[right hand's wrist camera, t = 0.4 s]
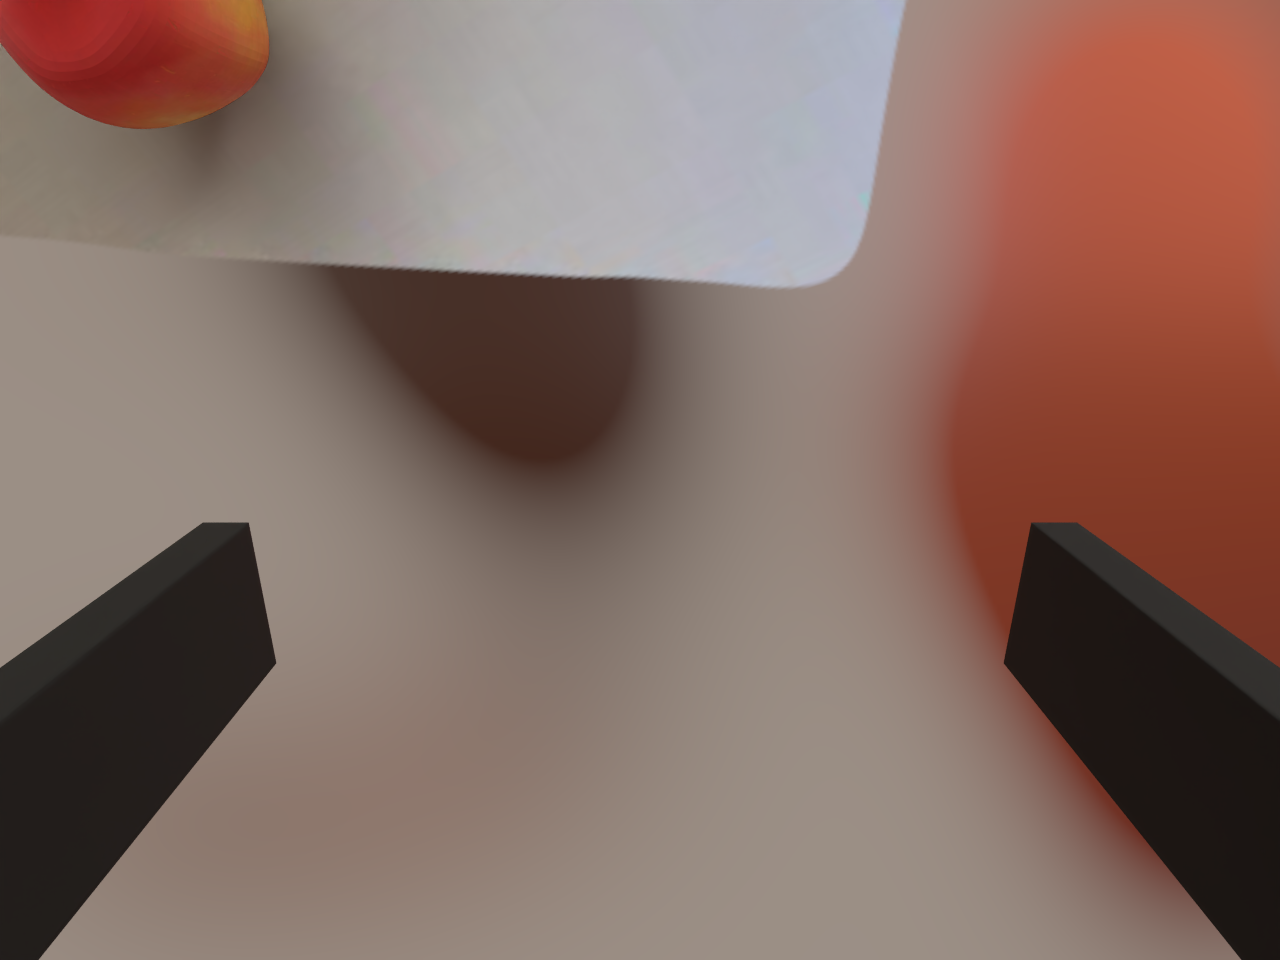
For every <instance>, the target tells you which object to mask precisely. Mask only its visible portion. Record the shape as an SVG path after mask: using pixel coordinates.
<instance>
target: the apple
mask: <svg viewBox="0 0 1280 960" xmlns="http://www.w3.org/2000/svg"><path fill="white" fill-rule="evenodd" d="M0 43H1V44H2V45H3V47H4V48H5V49H6V51H7V52H8V53H9V54H10V56H11V57H12V58H13V59H14V60H15V62H16V63H17V64H18V65H19V66H20V67H21V69H22V70H23V71H24V72H25V73H26V74H27V75H28V76H29V77H30V78H31V79H32V80H33V81H34V82H35V83H36V84H37V85H38V86H40V87H41V88H42V89H43V90H44V91H45V92H47V93H48V94H49V95H51V96H52V97H53V98H55V99H56V100H57V101H59V102H60V103H62V104H64V105H65V106H67V107H69V108H70V109H72V110H74V111H76V112H78V113H80V114H82V115H84V116H86V117H88V118H91V119H94V120H97V121H100V122H103V123H106V124H109V125H113V126H119V127H125V128H134V129H151V128H163V127H169V126H175V125H178V124H182V123H186V122H189V121H193V120H196V119H199V118H201V117H204V116H206V115H209V114H211V113H213V112H215V111H217V110H219V109H221V108H223V107H224V106H226V105H228V104H230V103H231V102H233V101H234V100H236V99H238V98H239V97H241V96H242V95H243V94H245V93H246V92H247V91H248V90H250V89H251V88H252V87H253V86H254V84H255V83H256V82H257V81H258V79H259V78H260V76H261V75H262V73H263V72H264V70H265V68H266V65H267V62H268V58H269V36H268V27H267V21H266V16H265V11H264V7H263V4H262V1H261V0H0Z"/></svg>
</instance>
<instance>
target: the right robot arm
mask: <svg viewBox="0 0 1280 960" xmlns="http://www.w3.org/2000/svg"><path fill="white" fill-rule="evenodd" d="M275 664H276V659H275V654H274V649H273V644H272V639H271V634H270V629H269V624H268V619H267V613H266V609H265V603H264V598H263V593H262V588H261V583H260V578H259V573H258V568H257V563H256V558H255V552H254V547H253V542H252V537H251V532H250V527H249V523H202V524H200V525H199V526H198V527H196V528H195V529H193V530H192V531H191V532H189V533H188V534H186V535H185V536H184V537H182V538H181V539H179V540H178V541H177V542H175V543H174V544H172V545H171V546H170V547H168V548H167V549H165V550H164V551H163V552H161V553H160V554H158V555H157V556H156V557H154V558H153V559H152V560H150V561H149V562H147V563H146V564H145V565H143V566H142V567H140V568H139V569H138V570H136V571H135V572H133V573H132V574H131V575H129V576H128V577H126V578H125V579H124V580H122V581H121V582H119V583H118V584H117V585H115V586H114V587H112V588H111V589H110V590H108V591H107V592H105V593H104V594H103V595H101V596H100V597H99V598H97V599H96V600H94V601H93V602H91V603H90V604H89V605H87V606H86V607H85V608H83V609H82V610H80V611H79V612H78V613H76V614H75V615H73V616H72V617H71V618H69V619H68V620H66V621H65V622H64V623H62V624H61V625H59V626H58V627H57V628H55V629H54V630H52V631H51V632H50V633H48V634H47V635H45V636H44V637H43V638H41V639H40V640H38V641H37V642H36V643H34V644H33V645H31V646H30V647H29V648H27V649H26V650H24V651H23V652H22V653H20V654H19V655H18V656H16V657H15V658H13V659H12V660H11V661H9V662H8V663H6V664H5V665H4V666H2V667H1V668H0V960H39V958H40V957H41V956H42V955H43V953H44V952H45V951H46V950H47V948H48V947H49V946H50V945H51V943H52V942H53V941H54V940H55V939H56V937H57V936H58V935H59V934H60V932H61V931H62V930H63V929H64V927H65V926H66V925H67V924H68V922H69V921H70V920H71V919H72V917H73V916H74V915H75V914H76V912H77V911H78V910H79V909H80V907H81V906H82V905H83V904H84V902H85V901H86V900H87V899H88V897H89V896H90V895H91V894H92V892H93V891H94V890H95V889H96V887H97V886H98V885H99V884H100V882H101V881H102V880H103V879H104V877H105V876H106V875H107V874H108V872H109V871H110V870H111V869H112V867H113V866H114V865H115V864H116V862H117V861H118V860H119V859H120V857H121V856H122V855H123V854H124V852H125V851H126V850H127V849H128V847H129V846H130V845H131V844H132V843H133V841H134V840H135V839H136V838H137V836H138V835H139V834H140V833H141V831H142V830H143V829H144V828H145V826H146V825H147V824H148V823H149V821H150V820H151V819H152V818H153V816H154V815H155V814H156V813H157V811H158V810H159V809H160V808H161V806H162V805H163V804H164V803H165V801H166V800H167V799H168V798H169V796H170V795H171V794H172V793H173V791H174V790H175V789H176V788H177V786H178V785H179V784H180V783H181V781H182V780H183V779H184V778H185V776H186V775H187V774H188V773H189V771H190V770H191V769H192V768H193V766H194V765H195V764H196V763H197V761H198V760H199V759H200V758H201V756H202V755H203V754H204V753H205V751H206V750H207V749H208V748H209V746H210V745H211V744H212V743H213V741H214V740H215V739H216V738H217V736H218V735H219V734H220V733H221V731H222V730H223V729H224V728H225V726H226V725H227V724H228V723H229V722H230V720H231V719H232V718H233V717H234V715H235V714H236V713H237V712H238V710H239V709H240V708H241V707H242V705H243V704H244V703H245V702H246V700H247V699H248V698H249V697H250V695H251V694H252V693H253V692H254V690H255V689H256V688H257V687H258V685H259V684H260V683H261V682H262V680H263V679H264V678H265V677H266V675H267V674H268V673H269V672H270V670H271V669H272V668H273V667H274V665H275ZM1004 664H1005V665H1006V667H1007V668H1008V669H1009V670H1010V672H1011V673H1012V674H1013V675H1014V677H1015V678H1016V679H1017V680H1018V682H1019V683H1020V684H1021V685H1022V687H1023V688H1024V689H1025V690H1026V692H1027V693H1028V694H1029V695H1030V697H1031V698H1032V699H1033V700H1034V702H1035V703H1036V704H1037V705H1038V707H1039V708H1040V709H1041V710H1042V712H1043V713H1044V714H1045V715H1046V717H1047V718H1048V719H1049V720H1050V722H1051V723H1052V724H1053V725H1054V727H1055V728H1056V729H1057V730H1058V732H1059V733H1060V734H1061V735H1062V737H1063V738H1064V739H1065V740H1066V741H1067V743H1068V744H1069V745H1070V746H1071V748H1072V749H1073V750H1074V751H1075V753H1076V754H1077V755H1078V756H1079V758H1080V759H1081V760H1082V761H1083V763H1084V764H1085V765H1086V766H1087V768H1088V769H1089V770H1090V771H1091V773H1092V774H1093V775H1094V776H1095V778H1096V779H1097V780H1098V781H1099V783H1100V784H1101V785H1102V786H1103V788H1104V789H1105V790H1106V791H1107V793H1108V794H1109V795H1110V796H1111V798H1112V799H1113V800H1114V801H1115V803H1116V804H1117V805H1118V806H1119V808H1120V809H1121V810H1122V811H1123V813H1124V814H1125V815H1126V816H1127V818H1128V819H1129V820H1130V821H1131V823H1132V824H1133V825H1134V826H1135V828H1136V829H1137V830H1138V831H1139V833H1140V834H1141V835H1142V836H1143V838H1144V839H1145V840H1146V841H1147V843H1148V844H1149V845H1150V846H1151V847H1152V849H1153V850H1154V851H1155V852H1156V854H1157V855H1158V856H1159V857H1160V859H1161V860H1162V861H1163V862H1164V864H1165V865H1166V866H1167V867H1168V869H1169V870H1170V871H1171V872H1172V874H1173V875H1174V876H1175V877H1176V879H1177V880H1178V881H1179V882H1180V884H1181V885H1182V886H1183V887H1184V889H1185V890H1186V891H1187V892H1188V894H1189V895H1190V896H1191V897H1192V899H1193V900H1194V901H1195V902H1196V904H1197V905H1198V906H1199V907H1200V909H1201V910H1202V911H1203V912H1204V914H1205V915H1206V916H1207V917H1208V919H1209V920H1210V921H1211V922H1212V924H1213V925H1214V926H1215V927H1216V929H1217V930H1218V931H1219V932H1220V934H1221V935H1222V936H1223V937H1224V939H1225V940H1226V941H1227V942H1228V944H1229V945H1230V946H1231V947H1232V949H1233V950H1234V951H1235V952H1236V954H1237V955H1238V956H1239V957H1240V959H1241V960H1280V668H1279V667H1278V666H1276V665H1275V664H1274V663H1272V662H1271V661H1269V660H1268V659H1267V658H1265V657H1264V656H1262V655H1261V654H1260V653H1258V652H1257V651H1256V650H1254V649H1253V648H1251V647H1250V646H1248V645H1247V644H1246V643H1244V642H1243V641H1241V640H1240V639H1239V638H1237V637H1236V636H1235V635H1233V634H1232V633H1230V632H1229V631H1228V630H1226V629H1225V628H1223V627H1222V626H1221V625H1219V624H1218V623H1216V622H1215V621H1214V620H1212V619H1211V618H1209V617H1208V616H1207V615H1205V614H1204V613H1202V612H1201V611H1200V610H1198V609H1197V608H1195V607H1194V606H1193V605H1191V604H1190V603H1189V602H1187V601H1186V600H1184V599H1183V598H1181V597H1180V596H1179V595H1177V594H1176V593H1174V592H1173V591H1172V590H1170V589H1169V588H1167V587H1166V586H1165V585H1163V584H1162V583H1161V582H1159V581H1158V580H1156V579H1155V578H1154V577H1152V576H1151V575H1149V574H1148V573H1147V572H1145V571H1144V570H1142V569H1141V568H1140V567H1138V566H1137V565H1135V564H1134V563H1133V562H1131V561H1130V560H1128V559H1127V558H1126V557H1124V556H1123V555H1121V554H1120V553H1119V552H1117V551H1116V550H1115V549H1113V548H1112V547H1110V546H1109V545H1107V544H1106V543H1105V542H1103V541H1102V540H1101V539H1099V538H1098V537H1096V536H1095V535H1094V534H1092V533H1091V532H1089V531H1088V530H1087V529H1085V528H1084V527H1082V526H1081V525H1080V524H1078V523H1031V527H1030V532H1029V537H1028V542H1027V547H1026V552H1025V558H1024V563H1023V568H1022V573H1021V578H1020V583H1019V588H1018V593H1017V598H1016V603H1015V609H1014V613H1013V619H1012V624H1011V629H1010V634H1009V639H1008V644H1007V649H1006V654H1005V659H1004Z"/></svg>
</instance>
